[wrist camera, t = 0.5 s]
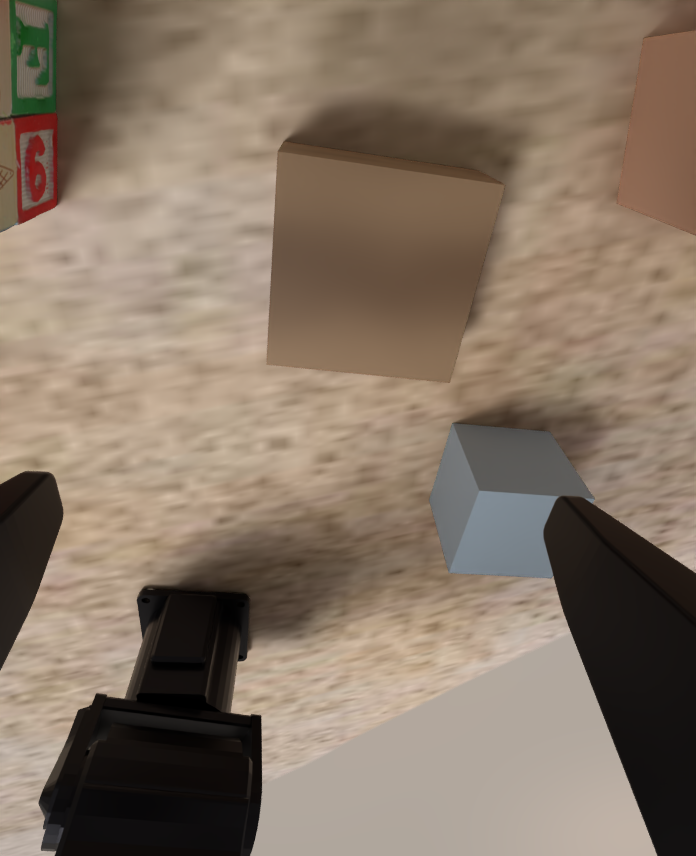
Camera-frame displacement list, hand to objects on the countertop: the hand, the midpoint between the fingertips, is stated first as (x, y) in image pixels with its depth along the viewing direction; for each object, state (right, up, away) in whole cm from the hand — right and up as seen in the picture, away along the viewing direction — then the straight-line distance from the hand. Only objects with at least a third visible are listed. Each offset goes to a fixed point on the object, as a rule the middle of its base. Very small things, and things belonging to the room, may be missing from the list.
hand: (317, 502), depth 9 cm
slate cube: (+8, -1, +17) cm, 19 cm away
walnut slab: (+1, +8, +11) cm, 14 cm away
